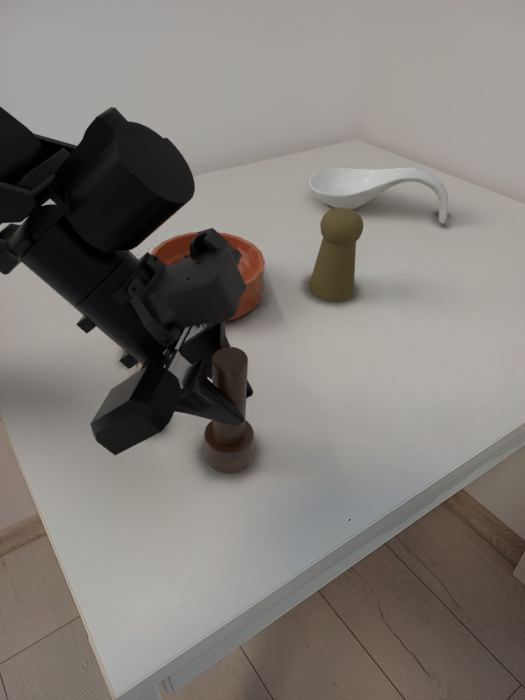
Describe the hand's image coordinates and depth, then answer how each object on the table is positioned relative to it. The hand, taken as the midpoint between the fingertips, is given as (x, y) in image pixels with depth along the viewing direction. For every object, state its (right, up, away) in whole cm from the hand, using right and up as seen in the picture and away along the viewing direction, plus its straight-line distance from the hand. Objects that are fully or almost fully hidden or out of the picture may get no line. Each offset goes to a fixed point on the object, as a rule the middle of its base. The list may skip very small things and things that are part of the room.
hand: (245, 409), depth 43 cm
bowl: (-6, +12, +24) cm, 27 cm away
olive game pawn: (+11, +13, +26) cm, 31 cm away
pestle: (-2, -5, +5) cm, 7 cm away
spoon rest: (+21, +29, +45) cm, 57 cm away
